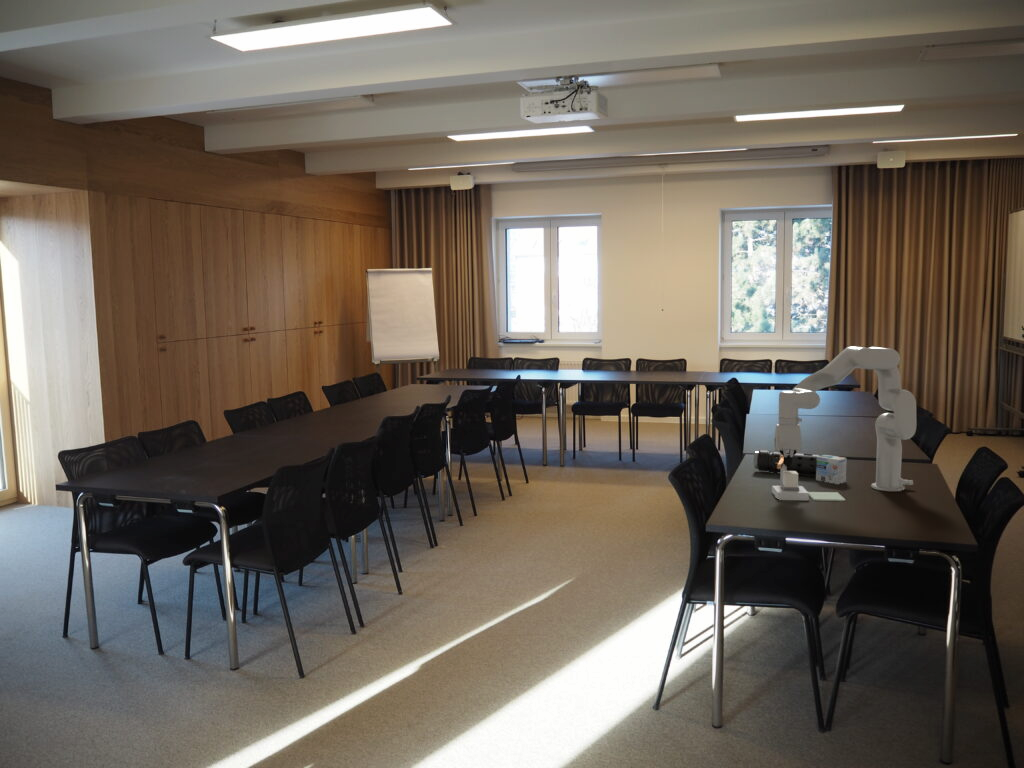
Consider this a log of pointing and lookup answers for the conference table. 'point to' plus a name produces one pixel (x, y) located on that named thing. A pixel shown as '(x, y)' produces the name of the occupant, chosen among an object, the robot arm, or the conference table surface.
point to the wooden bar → (781, 462)
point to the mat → (826, 496)
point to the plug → (790, 481)
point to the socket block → (789, 495)
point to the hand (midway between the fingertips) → (787, 466)
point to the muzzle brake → (800, 464)
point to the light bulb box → (831, 469)
